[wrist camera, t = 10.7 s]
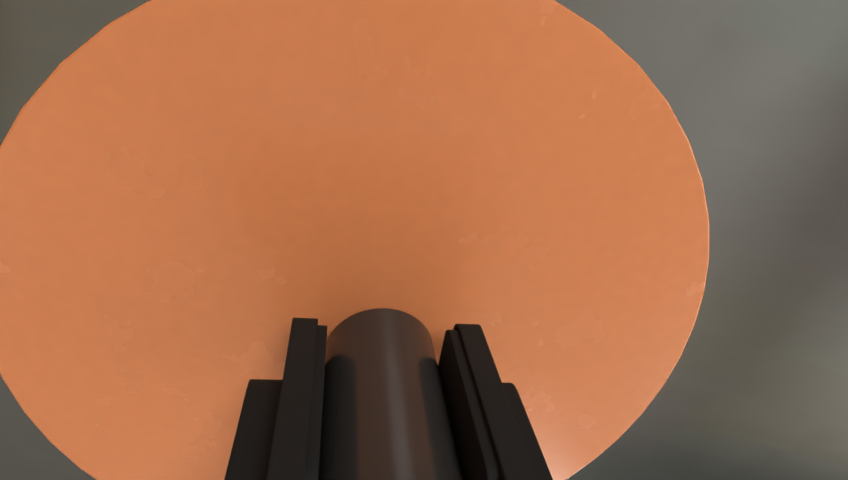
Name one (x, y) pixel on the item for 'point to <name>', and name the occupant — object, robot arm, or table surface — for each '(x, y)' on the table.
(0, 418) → the table surface
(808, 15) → the table surface
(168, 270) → the lid
